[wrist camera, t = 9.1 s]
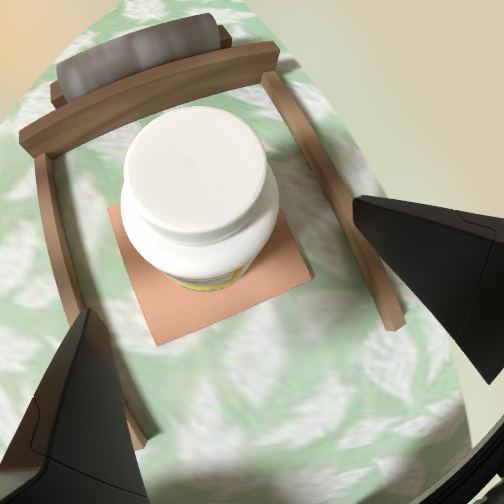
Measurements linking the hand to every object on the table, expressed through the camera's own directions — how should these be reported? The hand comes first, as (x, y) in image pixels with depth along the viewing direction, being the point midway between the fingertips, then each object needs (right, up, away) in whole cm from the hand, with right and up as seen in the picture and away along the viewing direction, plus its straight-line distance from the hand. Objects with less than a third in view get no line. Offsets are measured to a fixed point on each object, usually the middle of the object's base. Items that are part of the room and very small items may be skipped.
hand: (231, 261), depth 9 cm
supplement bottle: (-2, +1, +9) cm, 9 cm away
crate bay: (-3, +3, +9) cm, 10 cm away
